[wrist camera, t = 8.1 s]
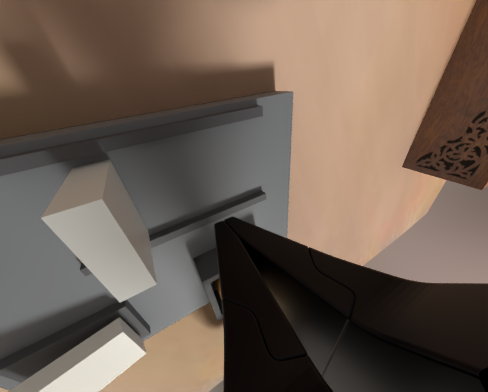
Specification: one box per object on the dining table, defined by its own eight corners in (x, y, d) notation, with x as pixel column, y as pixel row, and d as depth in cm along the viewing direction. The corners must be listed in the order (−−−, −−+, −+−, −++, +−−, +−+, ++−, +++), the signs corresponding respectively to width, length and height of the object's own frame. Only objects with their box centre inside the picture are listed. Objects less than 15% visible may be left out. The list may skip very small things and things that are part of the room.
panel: (276, 246, 24) (300, 272, 21) (50, 370, 16) (30, 447, 12) (275, 91, 14) (322, 92, 11) (-337, 198, 6) (-968, 353, 2)
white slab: (142, 339, 15) (146, 353, 15) (49, 409, 12) (48, 432, 12) (119, 317, 13) (122, 331, 12) (0, 396, 10) (-6, 422, 9)
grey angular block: (148, 230, 12) (157, 284, 9) (121, 241, 12) (119, 302, 8) (109, 159, 9) (102, 199, 6) (71, 168, 9) (40, 217, 6)
